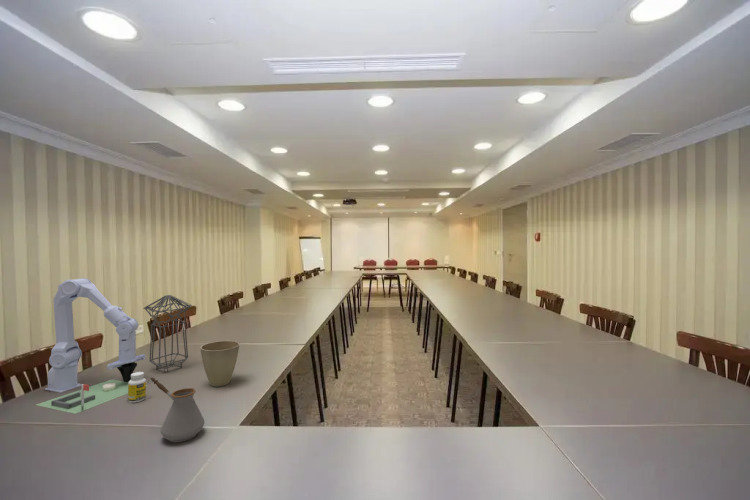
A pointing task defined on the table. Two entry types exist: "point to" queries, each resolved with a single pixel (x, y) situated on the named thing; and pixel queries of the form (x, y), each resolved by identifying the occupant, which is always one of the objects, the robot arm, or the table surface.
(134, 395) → the supplement bottle
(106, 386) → the stone
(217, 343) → the plant pot
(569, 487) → the table surface
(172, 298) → the geometric lantern
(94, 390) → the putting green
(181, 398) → the coffee pot
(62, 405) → the grey frame
